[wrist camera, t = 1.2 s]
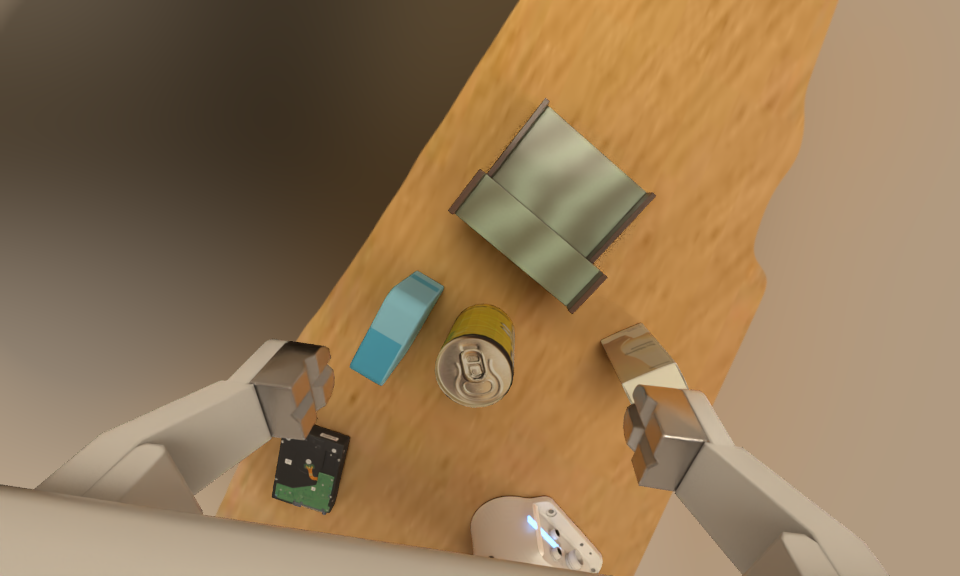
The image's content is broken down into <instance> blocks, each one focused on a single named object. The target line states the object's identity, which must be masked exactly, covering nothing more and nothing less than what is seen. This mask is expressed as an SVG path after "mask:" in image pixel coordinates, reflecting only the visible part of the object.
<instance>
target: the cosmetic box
mask: <svg viewBox="0 0 960 576" xmlns="http://www.w3.org/2000/svg"><path fill="white" fill-rule="evenodd" d="M601 343H602V345H603V347H604V349H605V351H606V354H607V356H608V358H609V360H610V362H611V364H612V366H613V368H614V370H615V372H616V374H617V376H618V378H619V380H620V382H621V384H622V386H623V389H624V391H625V393H626V395H627V397H628V399H629V401H630V403H631V404H633V403H634V399H633V396H632V394H633V391H634V389H635V387H636V386H637V385H638V384H642V385H651V386H660V387H668V388H677V389H679V388H680V389H689V388H688V386H687V384H686V382H685V379H684V377H683V375H682V373H681V371H680V369H679V367H678V366H677V364H676V362H675V361H674V360H673V359H672V358H671V356H670V355H669V354H668V353H667V352H666V350H665V349H664V348H663V347H662V346H661V345H660V343H659V342H658V341H657V340H656V339H655V338H654V337H653V335H652V334H651V333H650V332H649V331H648V330H647V328H646V327H645V326H644V325H643V324H642V323H640V324H637V325H634V326H632V327H629V328H627V329H625V330H622V331H620V332H618V333H615V334H613V335H611V336H609V337H607V338H605V339H603V340H601Z"/></svg>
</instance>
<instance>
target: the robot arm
mask: <svg viewBox="0 0 960 576" xmlns="http://www.w3.org/2000/svg"><path fill="white" fill-rule="evenodd" d="M330 359H331V355H330V351H329V348H327V347H326V346H321V345H314V344H307V343H300V342H293V341H283V340H277V339H271V340H268V341H266V342H265V343H264V344H263V345H262V346H261V347H260V348H259V349H258V350H257V351H256V352H255V353H254V354H253V355H252V356H251V357H250V358H249V359H248V360H247V361H246V362H245V363H244V364H243V365H242V366H241V367H240V368H239V369H238V370H237V371H236V372H235V373H234V374H233V375H232V376H231V377H230V378H229V379H228V380H227V381H222V380H220V381H218V382H216V383H214V384H211V385H209V386H207V387H205V388H202V389H200V390H198V391H196V392H193V393H191V394H189V395H187V396H185V397H182V398H180V399H178V400H176V401H173V402H171V403H169V404H167V405H164V406H162V407H160V408H158V409H156V410H153V411H151V412H149V413H147V414H144V415H142V416H140V417H138V418H136V419H133V420H131V421H129V422H127V423H124V424H122V425H120V426H118V427H116V428H113V429H111V430H109V431H106V432H104V433H102V434H100V435H99V436H97V437H96V438H95V439H94V440H93V441H91V442H90V443H89V444H88V445H87V446H85V447H84V448H83V449H82V450H81V451H79V452H78V453H77V454H76V455H75V456H73V457H72V458H71V459H70V460H69V461H67V462H66V463H65V464H64V465H63V466H61V467H60V468H59V469H58V470H57V471H55V472H54V473H53V474H52V475H51V476H49V477H48V478H47V479H46V480H45V481H43V482H42V483H41V484H40V485H39V486H37V488H35V489H27V488H20V487H13V486H7V485H0V576H611V575H604V574H598V573H599V571H600V569H601V566H602V562H603V560H602V555H601V553H600V552H599V551H598V550H597V549H596V547H595V546H594V545H593V544H592V543H591V542H590V541H589V540H588V538H587V537H586V536H585V535H584V534H583V533H582V532H581V531H580V529H579V528H578V527H577V526H576V525H575V524H574V523H573V522H572V520H571V519H570V518H569V517H568V516H567V515H566V514H565V513H564V511H563V510H562V509H561V508H560V507H559V506H558V505H557V504H556V503H555V501H554V500H553V499H552V498H550V497H547V496H543V497H536V498H522V497H513V496H508V497H500V498H496V499H493V500H491V501H489V502H487V503H485V504H484V505H482V506H481V507H480V508H479V509H478V510H477V511H476V513H475V514H474V516H473V519H472V522H471V535H472V541H473V554H474V555H470V554H463V553H457V552H450V551H443V550H437V549H430V548H423V547H417V546H410V545H403V544H396V543H390V542H383V541H376V540H369V539H363V538H356V537H349V536H342V535H336V534H329V533H322V532H315V531H309V530H302V529H295V528H288V527H282V526H275V525H268V524H262V523H255V522H248V521H241V520H235V519H228V518H221V517H215V516H208V515H203V512H202V509H201V507H200V506H199V504H198V502H197V501H196V499H195V497H194V495H195V494H197V493H198V492H199V491H201V490H202V489H203V488H205V487H206V486H208V485H209V484H210V483H212V482H213V481H214V480H216V479H217V478H218V477H220V476H221V475H223V474H224V473H225V472H227V471H228V470H229V469H231V468H232V467H234V466H235V465H236V464H238V463H239V462H240V461H242V460H243V459H244V458H246V457H247V456H249V455H250V454H251V453H253V452H254V451H255V450H257V449H258V448H259V447H261V446H262V445H264V444H265V443H266V442H268V441H269V440H270V439H271V437H279V438H288V439H297V440H305V439H306V437H307V435H308V434H309V432H310V430H311V429H312V427H313V426H314V424H315V422H316V421H317V419H318V418H317V413H316V411H317V410H319V409H320V408H322V407H324V406H325V405H326V404H327V402H328V401H329V399H330V397H331V394H332V391H333V388H334V379H335V377H334V371H333V369H332V368H331V367H330V366H329V365H328V364H327V363H328V362H329V360H330ZM632 396H633V399H634V403H633V404H631V405H630V406H628V407H627V409H626V412H625V415H624V424H623V429H624V436H625V440H626V443H627V445H628V446H629V447H630V448H631V449H632V450H633V451H634V452H635V453H634V455H633V458H632V460H631V461H632V464H633V468H634V471H635V474H636V478H637V481H638V484H639V486H644V487H650V488H656V489H663V490H669V491H675V494H676V495H677V497H678V498H679V499H680V500H681V501H682V503H683V504H684V505H685V506H686V507H687V509H688V510H689V511H690V512H691V513H692V515H693V516H694V517H695V518H696V519H697V521H698V522H699V523H700V524H701V525H702V527H703V528H704V529H705V530H706V531H707V533H708V534H709V535H710V536H711V537H712V539H713V540H714V541H715V542H716V543H717V545H718V546H719V547H720V548H721V549H722V551H723V552H724V553H725V554H726V555H727V557H728V558H729V559H730V560H731V561H732V563H733V564H734V565H735V566H736V567H737V569H738V570H739V571H740V572H741V574H742V576H889V574H888V573H887V572H886V570H885V569H884V568H883V566H882V565H881V564H880V562H879V561H878V560H877V558H876V557H875V555H874V554H873V553H872V551H871V550H870V549H869V547H868V546H867V545H866V543H865V542H864V541H863V540H862V539H860V538H859V537H858V536H856V535H855V534H854V533H853V532H851V531H850V530H849V529H847V528H846V527H845V526H844V525H842V524H841V523H840V522H838V521H837V520H836V519H834V518H833V517H832V516H831V515H829V514H828V513H827V512H825V511H824V510H822V508H820V507H819V506H818V505H816V504H815V503H814V502H812V501H811V500H810V499H809V498H807V497H806V496H805V495H803V494H802V493H801V492H800V491H798V490H797V489H796V488H794V487H793V486H792V485H790V484H789V483H788V482H786V481H785V480H784V479H783V478H781V477H780V476H779V475H778V474H776V473H775V472H774V471H772V470H771V469H770V468H768V467H767V466H766V465H764V464H763V463H762V462H761V461H759V460H758V459H757V458H756V457H754V456H753V455H752V454H750V453H749V452H748V451H746V450H745V449H744V448H743V447H736V446H735V445H734V443H733V441H732V439H731V438H730V436H729V434H728V433H727V431H726V429H725V428H724V426H723V424H722V423H721V421H720V419H719V418H718V416H717V414H716V413H715V411H714V409H713V408H712V406H711V404H710V402H709V401H708V399H707V397H706V396H705V394H704V393H702V392H701V391H699V390H689V389H680V388H679V389H677V388H668V387H660V386H651V385H642V384H638V385H637V386H636V387H635V389H634V391H633V394H632ZM550 509H552V510H550Z"/></svg>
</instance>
